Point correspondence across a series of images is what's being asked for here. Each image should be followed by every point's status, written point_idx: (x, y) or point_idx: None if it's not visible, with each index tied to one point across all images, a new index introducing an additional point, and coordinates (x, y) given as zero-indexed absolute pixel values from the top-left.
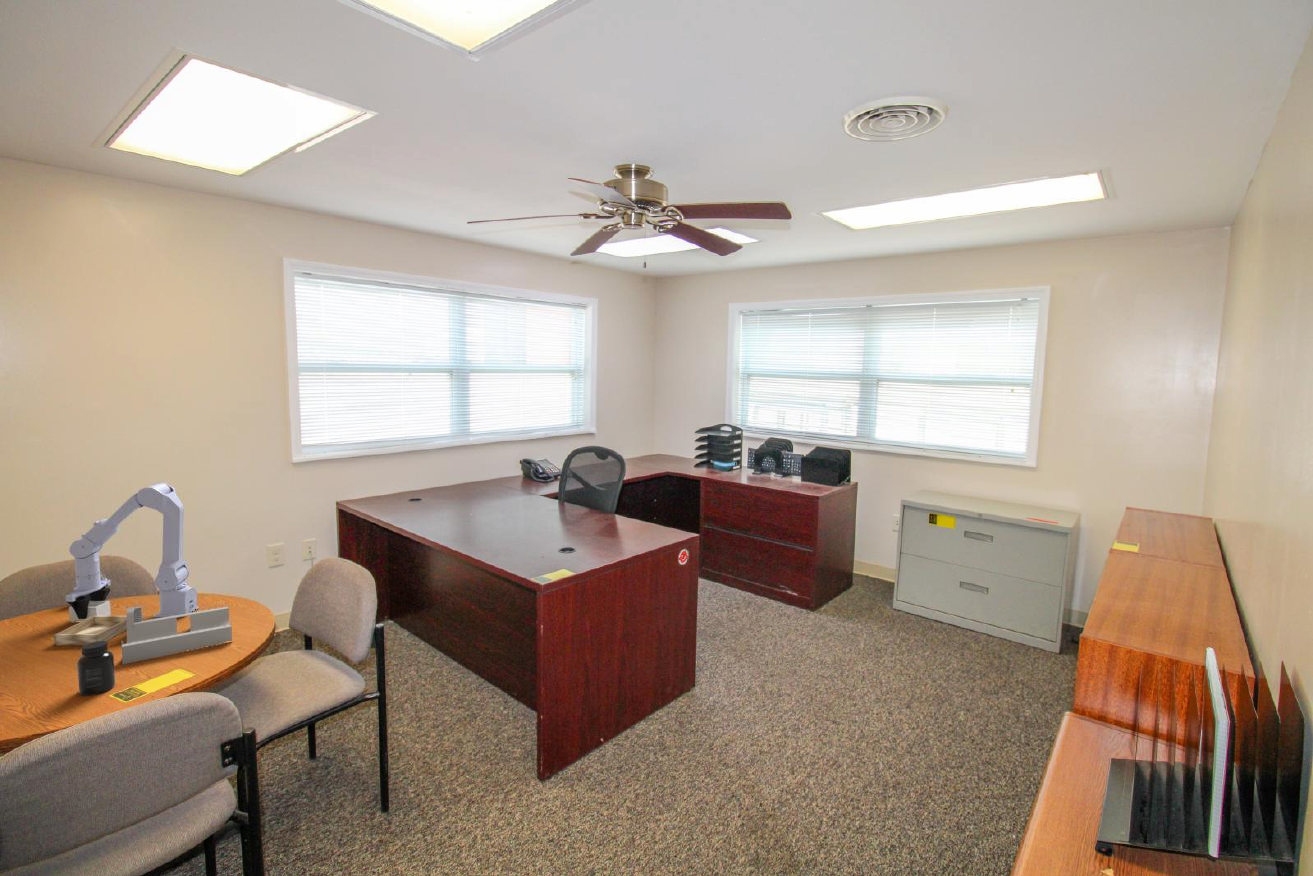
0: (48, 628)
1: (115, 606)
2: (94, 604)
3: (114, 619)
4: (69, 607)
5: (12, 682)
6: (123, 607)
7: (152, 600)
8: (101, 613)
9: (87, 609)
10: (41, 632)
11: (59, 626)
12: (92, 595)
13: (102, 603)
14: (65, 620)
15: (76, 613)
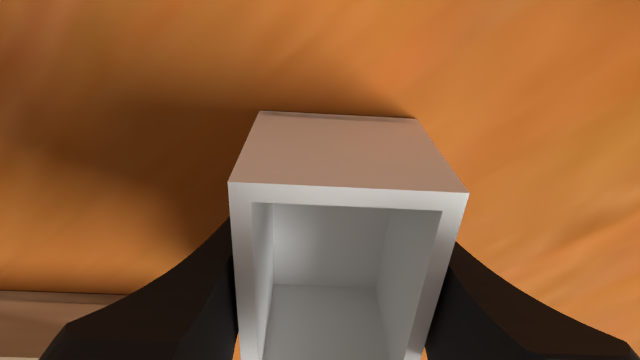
0: (112, 19)
1: (594, 213)
2: (410, 279)
3: None
4: (228, 186)
5: None
6: (545, 272)
7: (633, 348)
8: (304, 326)
9: (234, 332)
10: (19, 29)
11: (170, 85)
12: (474, 344)
13: (399, 344)
14: (311, 28)
15: (214, 237)
